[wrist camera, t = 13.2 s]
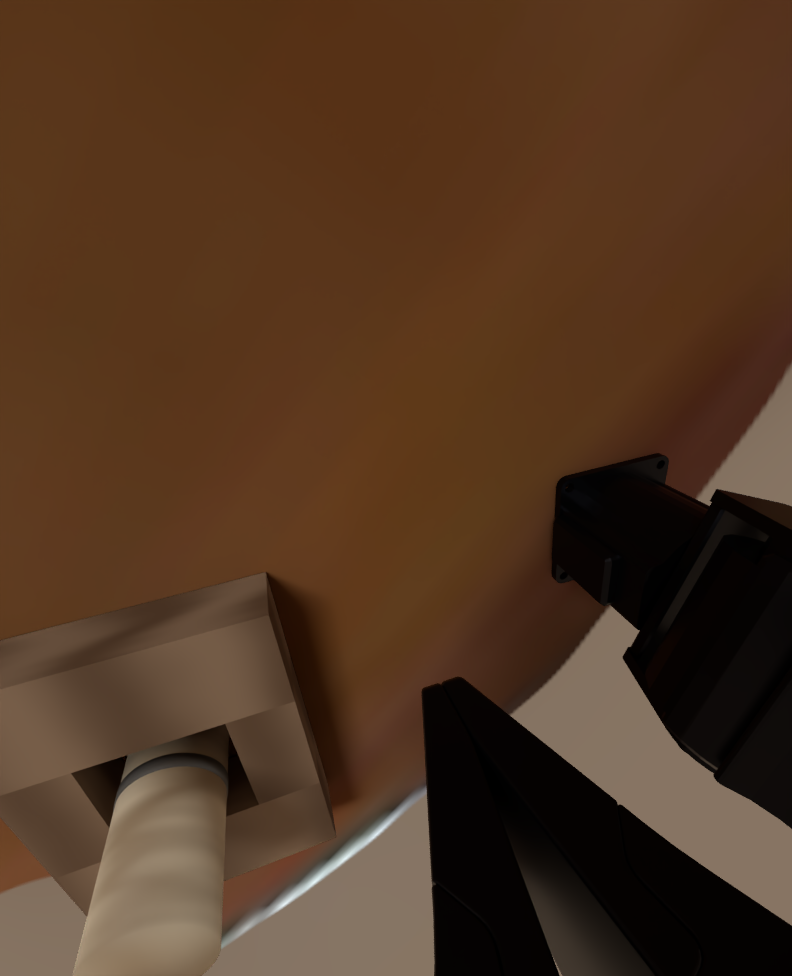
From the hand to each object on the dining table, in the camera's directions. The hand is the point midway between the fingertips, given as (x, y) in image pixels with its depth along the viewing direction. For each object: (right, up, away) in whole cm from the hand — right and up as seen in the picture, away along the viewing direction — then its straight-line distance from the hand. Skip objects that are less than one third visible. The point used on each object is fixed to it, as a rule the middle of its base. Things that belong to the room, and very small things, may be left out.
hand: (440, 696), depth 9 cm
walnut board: (-12, -8, +14) cm, 20 cm away
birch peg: (-12, -8, +14) cm, 20 cm away
